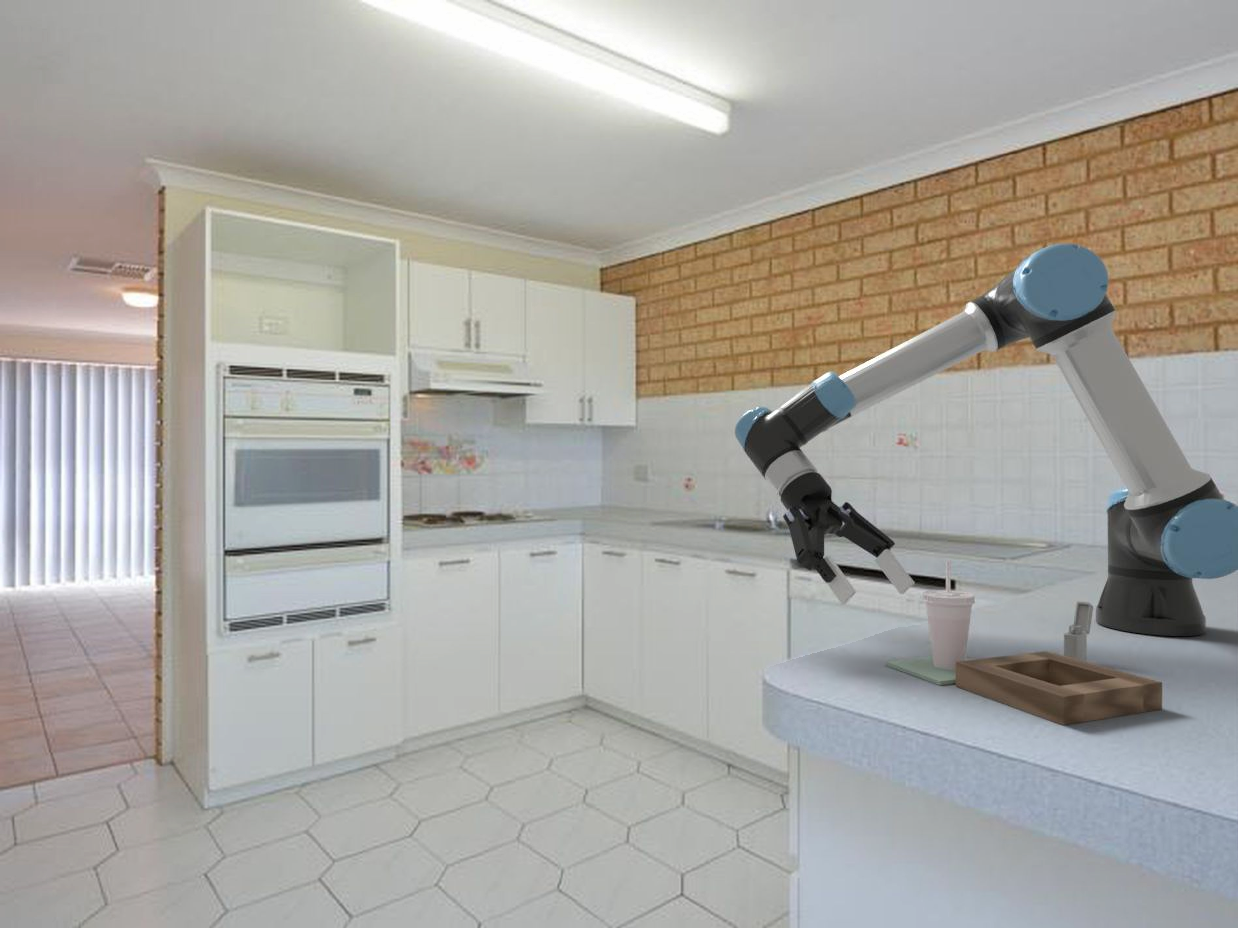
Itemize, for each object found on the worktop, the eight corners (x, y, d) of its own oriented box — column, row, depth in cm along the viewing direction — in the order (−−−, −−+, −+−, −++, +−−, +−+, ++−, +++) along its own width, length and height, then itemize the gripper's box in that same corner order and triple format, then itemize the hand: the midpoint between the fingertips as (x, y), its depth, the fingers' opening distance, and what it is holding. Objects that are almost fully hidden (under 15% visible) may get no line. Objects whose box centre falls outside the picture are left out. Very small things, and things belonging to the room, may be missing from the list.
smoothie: (972, 662, 105) (972, 559, 105) (977, 674, 99) (977, 565, 98) (921, 658, 107) (921, 557, 107) (923, 670, 101) (923, 563, 101)
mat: (955, 657, 109) (955, 653, 109) (1013, 675, 100) (1013, 671, 100) (885, 665, 105) (885, 661, 105) (940, 685, 96) (940, 681, 96)
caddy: (1046, 674, 101) (1046, 651, 101) (1162, 708, 87) (1162, 682, 87) (955, 686, 95) (955, 661, 95) (1063, 725, 81) (1063, 696, 81)
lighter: (1077, 668, 104) (1077, 608, 104) (1063, 665, 105) (1063, 606, 105) (1093, 658, 109) (1093, 601, 109) (1079, 656, 110) (1079, 600, 110)
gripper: (836, 499, 133) (914, 599, 121) (730, 504, 118) (806, 619, 106) (862, 469, 128) (945, 569, 116) (755, 470, 114) (838, 585, 102)
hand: (879, 593), depth 111 cm, fingers open, 13 cm apart
